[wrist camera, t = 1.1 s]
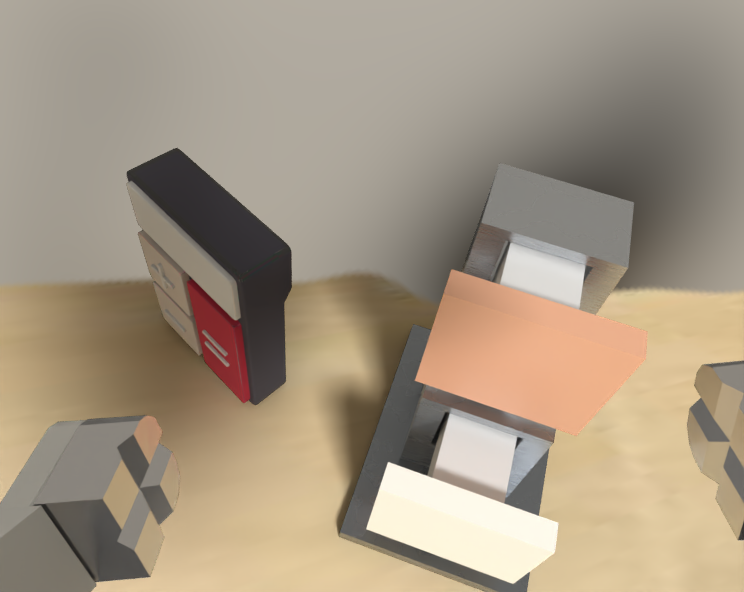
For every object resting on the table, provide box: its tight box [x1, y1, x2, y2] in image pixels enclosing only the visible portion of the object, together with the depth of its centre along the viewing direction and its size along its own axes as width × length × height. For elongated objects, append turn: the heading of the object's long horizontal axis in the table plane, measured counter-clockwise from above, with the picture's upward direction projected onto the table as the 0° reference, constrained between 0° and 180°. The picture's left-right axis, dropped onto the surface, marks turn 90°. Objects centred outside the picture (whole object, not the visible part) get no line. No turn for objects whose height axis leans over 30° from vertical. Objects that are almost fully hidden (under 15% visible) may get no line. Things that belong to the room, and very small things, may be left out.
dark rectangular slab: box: [127, 148, 292, 405], centre depth 40 cm, size 11×4×15 cm, turn 45°
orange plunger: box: [415, 241, 647, 436], centre depth 32 cm, size 9×8×8 cm
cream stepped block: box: [366, 413, 559, 584], centre depth 35 cm, size 9×8×7 cm
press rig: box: [339, 163, 634, 592], centre depth 36 cm, size 12×17×18 cm
